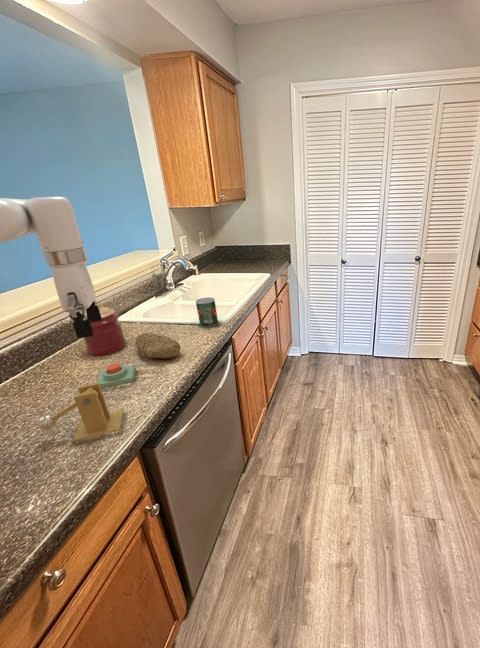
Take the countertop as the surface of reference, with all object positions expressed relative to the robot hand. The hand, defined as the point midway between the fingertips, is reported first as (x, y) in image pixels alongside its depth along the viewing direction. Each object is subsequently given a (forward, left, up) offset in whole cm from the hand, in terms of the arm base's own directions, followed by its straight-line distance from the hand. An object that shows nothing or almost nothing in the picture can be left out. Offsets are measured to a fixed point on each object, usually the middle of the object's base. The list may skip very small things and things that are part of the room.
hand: (90, 328), depth 77 cm
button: (-3, +19, -22) cm, 29 cm away
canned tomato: (+29, +53, -26) cm, 66 cm away
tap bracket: (-4, -4, -26) cm, 26 cm away
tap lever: (-8, -4, -20) cm, 22 cm away
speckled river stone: (+9, +33, -26) cm, 43 cm away
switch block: (-3, +19, -26) cm, 32 cm away
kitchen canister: (-10, +47, -26) cm, 54 cm away
